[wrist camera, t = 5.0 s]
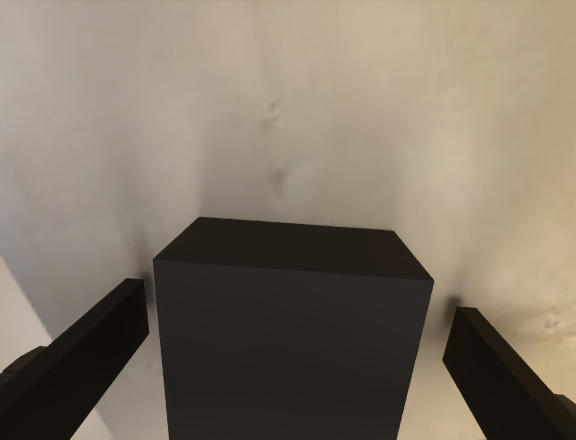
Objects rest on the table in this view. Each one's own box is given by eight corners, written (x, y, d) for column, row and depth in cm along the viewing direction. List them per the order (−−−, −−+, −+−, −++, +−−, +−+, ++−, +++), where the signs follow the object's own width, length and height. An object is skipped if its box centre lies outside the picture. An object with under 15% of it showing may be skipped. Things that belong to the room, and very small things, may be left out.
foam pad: (203, 370, 15) (169, 455, 11) (198, 216, 12) (151, 258, 9) (366, 384, 15) (388, 476, 11) (394, 230, 12) (435, 280, 8)
